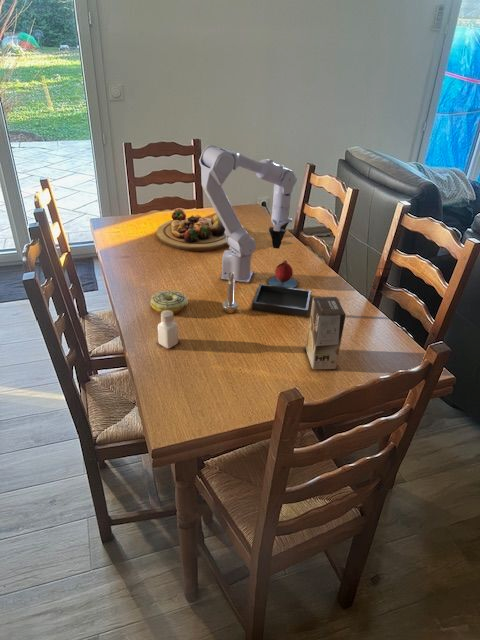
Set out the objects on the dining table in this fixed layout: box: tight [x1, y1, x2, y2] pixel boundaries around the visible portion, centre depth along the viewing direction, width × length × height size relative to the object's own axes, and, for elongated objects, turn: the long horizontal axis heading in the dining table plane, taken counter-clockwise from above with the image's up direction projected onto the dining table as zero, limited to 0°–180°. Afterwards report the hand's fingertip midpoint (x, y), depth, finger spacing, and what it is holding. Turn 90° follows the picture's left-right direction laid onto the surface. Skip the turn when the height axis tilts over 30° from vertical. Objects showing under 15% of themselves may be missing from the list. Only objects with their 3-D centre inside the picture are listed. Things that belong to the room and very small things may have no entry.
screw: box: [221, 272, 239, 314], centre depth 136 cm, size 13×5×5 cm
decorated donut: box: [150, 290, 189, 315], centre depth 139 cm, size 10×11×4 cm
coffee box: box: [305, 296, 347, 370], centre depth 117 cm, size 9×6×16 cm
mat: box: [267, 275, 298, 289], centre depth 156 cm, size 10×10×1 cm
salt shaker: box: [157, 310, 179, 349], centre depth 122 cm, size 4×4×10 cm
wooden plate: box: [155, 208, 229, 252], centre depth 186 cm, size 32×32×8 cm
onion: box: [274, 259, 294, 283], centre depth 154 cm, size 6×6×8 cm
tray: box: [251, 283, 312, 318], centre depth 145 cm, size 17×13×2 cm
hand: (277, 243), depth 161 cm, fingers open, 7 cm apart
